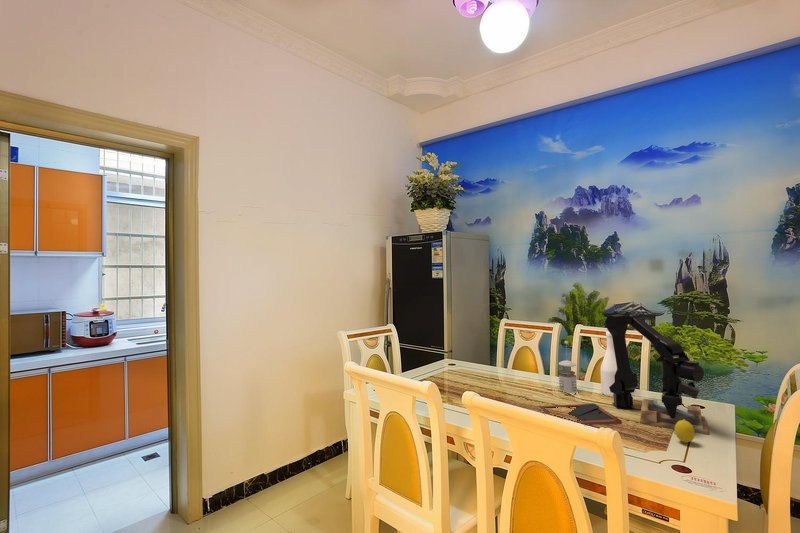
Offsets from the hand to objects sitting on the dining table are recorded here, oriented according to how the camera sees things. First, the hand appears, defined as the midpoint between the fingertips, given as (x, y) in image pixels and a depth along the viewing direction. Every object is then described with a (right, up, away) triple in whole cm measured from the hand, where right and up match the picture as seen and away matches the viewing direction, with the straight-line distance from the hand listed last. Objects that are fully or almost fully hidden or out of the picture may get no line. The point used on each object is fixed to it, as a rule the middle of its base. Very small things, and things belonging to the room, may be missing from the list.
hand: (672, 416), depth 151 cm
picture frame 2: (0, +1, 0) cm, 1 cm away
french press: (-21, -5, +44) cm, 49 cm away
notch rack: (+2, -3, +3) cm, 5 cm away
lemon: (-6, -4, -16) cm, 17 cm away
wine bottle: (-3, -4, +37) cm, 38 cm away
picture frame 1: (-31, -5, +12) cm, 33 cm away
